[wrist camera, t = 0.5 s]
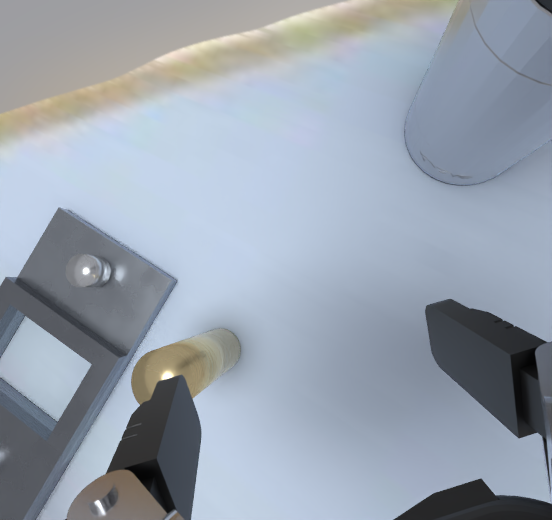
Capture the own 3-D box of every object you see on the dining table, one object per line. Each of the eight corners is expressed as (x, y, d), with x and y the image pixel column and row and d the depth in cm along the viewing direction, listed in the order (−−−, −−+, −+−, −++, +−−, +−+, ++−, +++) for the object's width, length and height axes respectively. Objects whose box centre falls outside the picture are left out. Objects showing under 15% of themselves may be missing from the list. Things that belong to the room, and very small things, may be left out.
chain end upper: (28, 277, 34) (-16, 276, 30) (134, 352, 32) (104, 362, 28) (-71, 444, 34) (-128, 466, 30) (29, 529, 32) (-18, 567, 28)
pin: (213, 320, 31) (152, 336, 20) (248, 342, 31) (203, 372, 20) (192, 355, 31) (120, 391, 20) (226, 379, 31) (170, 428, 20)
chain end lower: (68, 210, 34) (41, 202, 31) (177, 280, 32) (160, 279, 29) (-31, 376, 34) (-67, 385, 31) (71, 458, 32) (43, 476, 29)
